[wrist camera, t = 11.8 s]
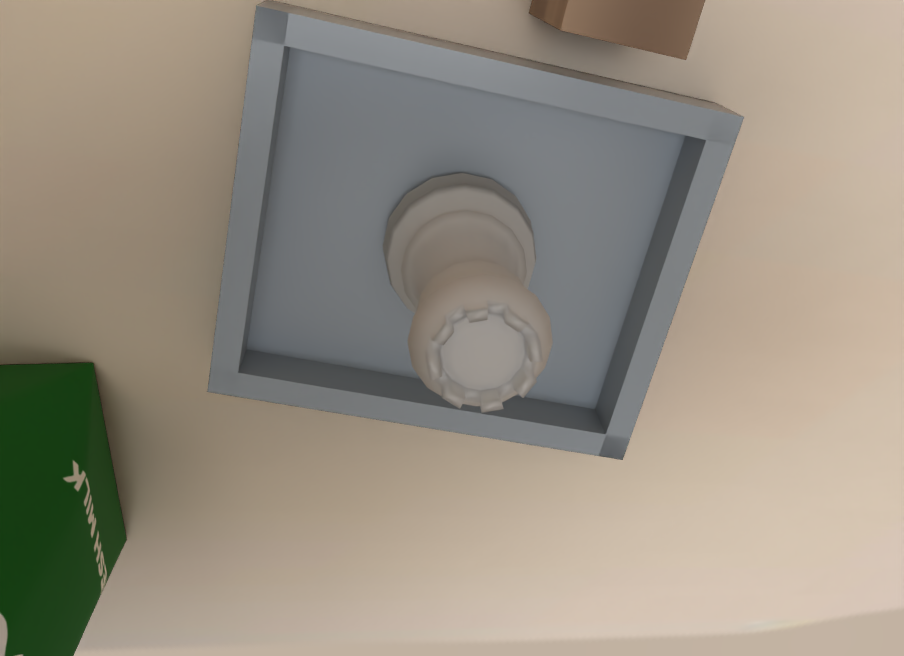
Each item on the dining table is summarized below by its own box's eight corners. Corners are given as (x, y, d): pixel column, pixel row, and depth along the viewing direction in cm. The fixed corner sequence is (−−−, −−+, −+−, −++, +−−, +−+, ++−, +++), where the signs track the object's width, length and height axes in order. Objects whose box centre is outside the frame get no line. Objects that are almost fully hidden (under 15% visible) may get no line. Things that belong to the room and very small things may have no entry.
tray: (221, 359, 28) (207, 391, 26) (268, -1, 23) (256, 5, 21) (607, 424, 29) (622, 459, 27) (716, 103, 25) (743, 117, 23)
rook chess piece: (462, 136, 24) (494, 219, 17) (562, 244, 26) (629, 362, 19) (351, 240, 26) (336, 360, 18) (453, 338, 27) (476, 485, 20)
